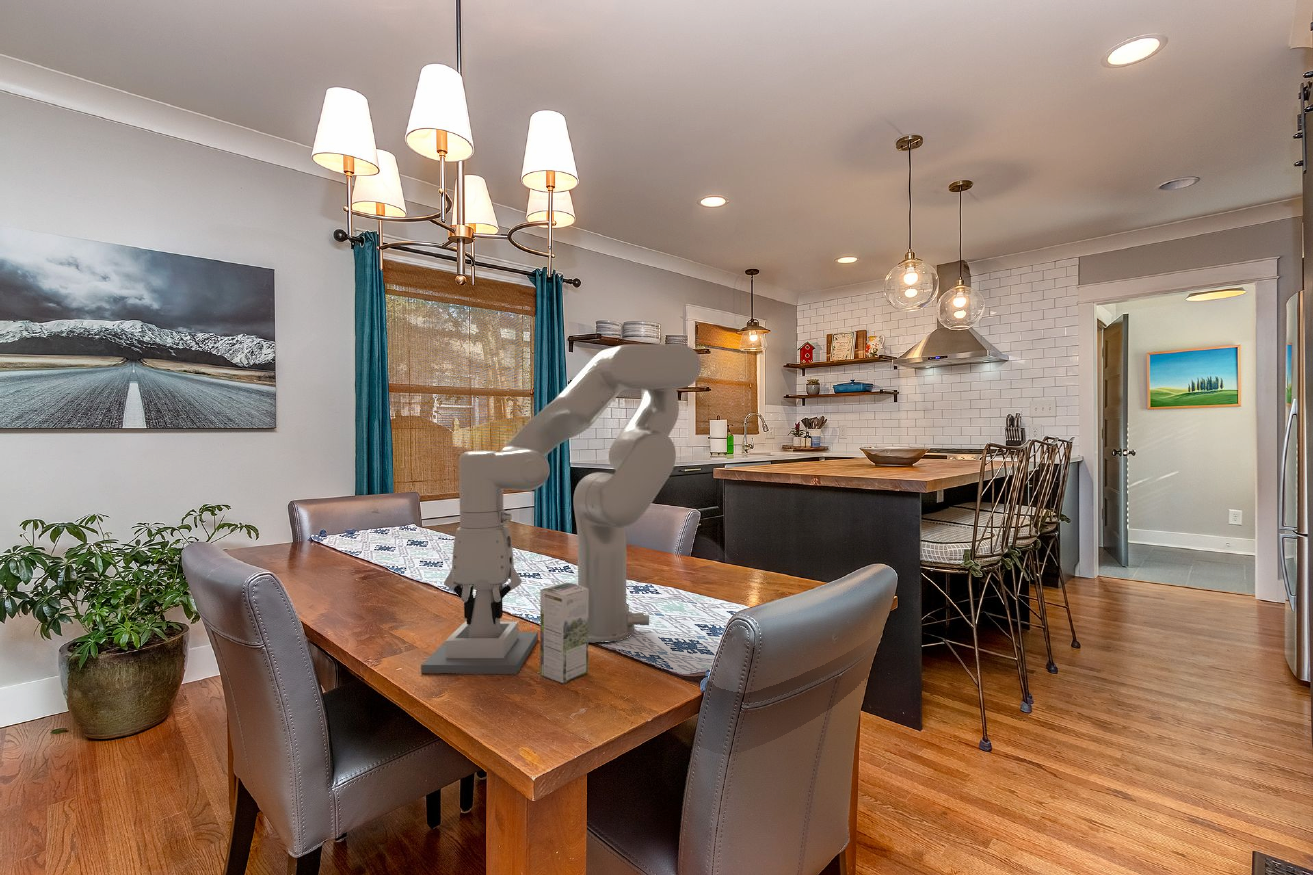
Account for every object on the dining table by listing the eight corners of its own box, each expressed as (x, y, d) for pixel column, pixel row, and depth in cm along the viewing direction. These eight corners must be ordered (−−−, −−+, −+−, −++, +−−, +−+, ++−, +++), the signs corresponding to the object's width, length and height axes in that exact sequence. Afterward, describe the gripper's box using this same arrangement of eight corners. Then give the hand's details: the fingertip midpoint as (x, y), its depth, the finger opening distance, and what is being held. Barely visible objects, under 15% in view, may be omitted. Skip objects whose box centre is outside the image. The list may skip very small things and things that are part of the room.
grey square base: (537, 639, 118) (537, 616, 117) (516, 674, 102) (516, 647, 101) (455, 639, 118) (454, 616, 118) (421, 673, 102) (420, 647, 102)
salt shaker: (491, 655, 106) (491, 581, 105) (461, 651, 107) (461, 578, 107) (507, 642, 112) (507, 572, 111) (478, 639, 113) (478, 569, 112)
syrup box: (565, 664, 105) (564, 581, 105) (589, 673, 102) (589, 586, 101) (539, 675, 101) (538, 588, 101) (564, 685, 97) (563, 594, 97)
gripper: (533, 516, 113) (534, 615, 113) (443, 517, 113) (445, 615, 114) (523, 523, 105) (524, 629, 106) (427, 523, 106) (429, 629, 106)
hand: (483, 621), depth 110 cm, fingers open, 3 cm apart
